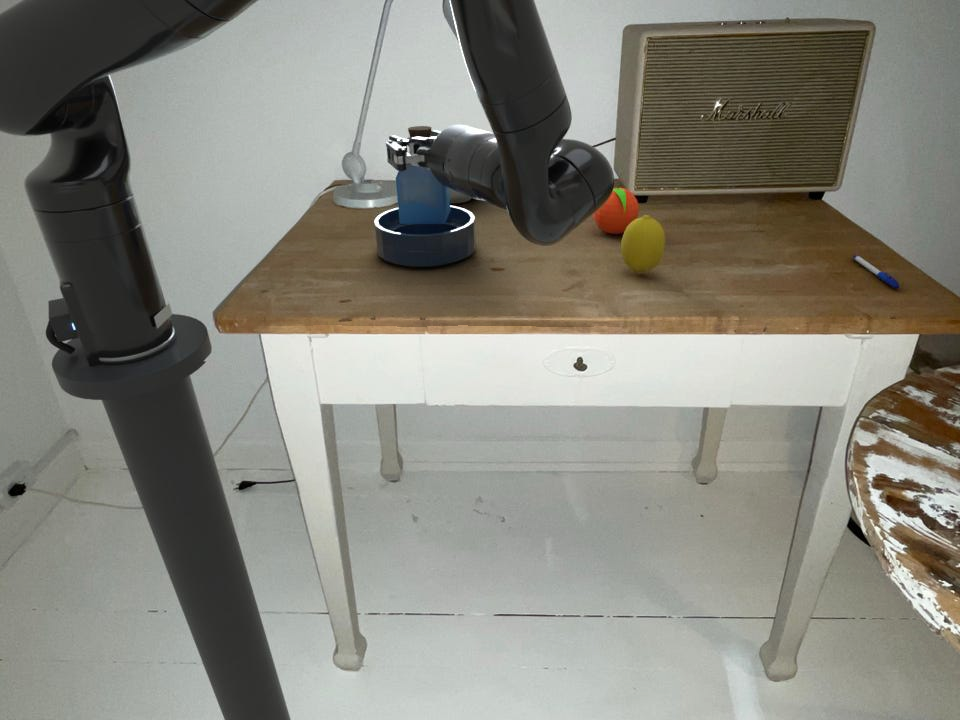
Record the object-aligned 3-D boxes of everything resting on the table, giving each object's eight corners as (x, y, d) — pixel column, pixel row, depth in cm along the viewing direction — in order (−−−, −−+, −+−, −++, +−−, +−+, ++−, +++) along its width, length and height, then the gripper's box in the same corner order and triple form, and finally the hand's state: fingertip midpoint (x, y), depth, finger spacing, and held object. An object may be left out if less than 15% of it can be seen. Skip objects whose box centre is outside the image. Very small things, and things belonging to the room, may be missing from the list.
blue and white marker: (901, 289, 78) (903, 282, 77) (894, 289, 78) (896, 282, 77) (855, 258, 87) (857, 251, 86) (849, 258, 87) (851, 251, 86)
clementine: (644, 241, 94) (650, 194, 91) (599, 243, 94) (603, 196, 90) (628, 224, 101) (633, 180, 98) (586, 226, 101) (589, 182, 97)
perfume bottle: (450, 210, 92) (446, 123, 86) (444, 223, 86) (439, 132, 80) (408, 210, 92) (401, 124, 86) (399, 223, 87) (391, 132, 81)
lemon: (615, 266, 86) (621, 208, 82) (656, 266, 86) (663, 208, 82) (621, 282, 81) (628, 222, 77) (665, 282, 81) (673, 221, 77)
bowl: (403, 278, 84) (400, 242, 81) (362, 247, 94) (359, 214, 92) (493, 257, 90) (493, 223, 87) (446, 230, 100) (445, 198, 98)
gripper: (526, 122, 75) (457, 106, 88) (416, 137, 69) (359, 117, 81) (525, 186, 79) (459, 161, 91) (421, 205, 72) (366, 176, 85)
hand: (412, 140), depth 86 cm, fingers closed on perfume bottle, 5 cm apart
